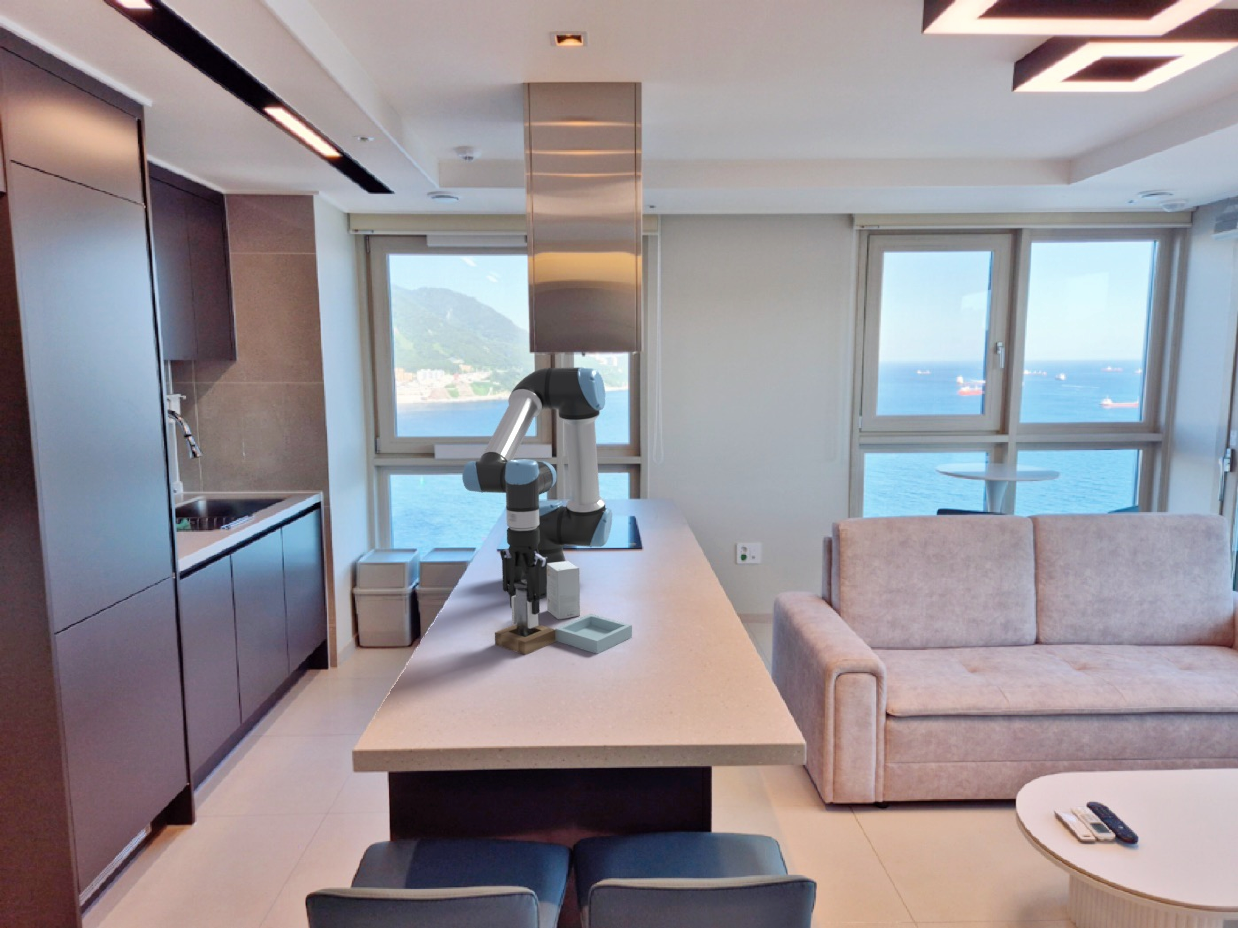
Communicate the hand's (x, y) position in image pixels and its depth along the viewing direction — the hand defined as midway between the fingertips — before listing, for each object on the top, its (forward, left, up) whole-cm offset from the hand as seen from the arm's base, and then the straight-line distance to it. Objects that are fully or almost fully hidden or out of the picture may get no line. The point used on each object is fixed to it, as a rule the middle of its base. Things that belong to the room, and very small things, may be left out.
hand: (525, 623), depth 177 cm
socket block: (0, 0, -5) cm, 5 cm away
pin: (0, 0, -5) cm, 5 cm away
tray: (+11, +12, -5) cm, 17 cm away
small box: (-7, +21, -5) cm, 23 cm away
